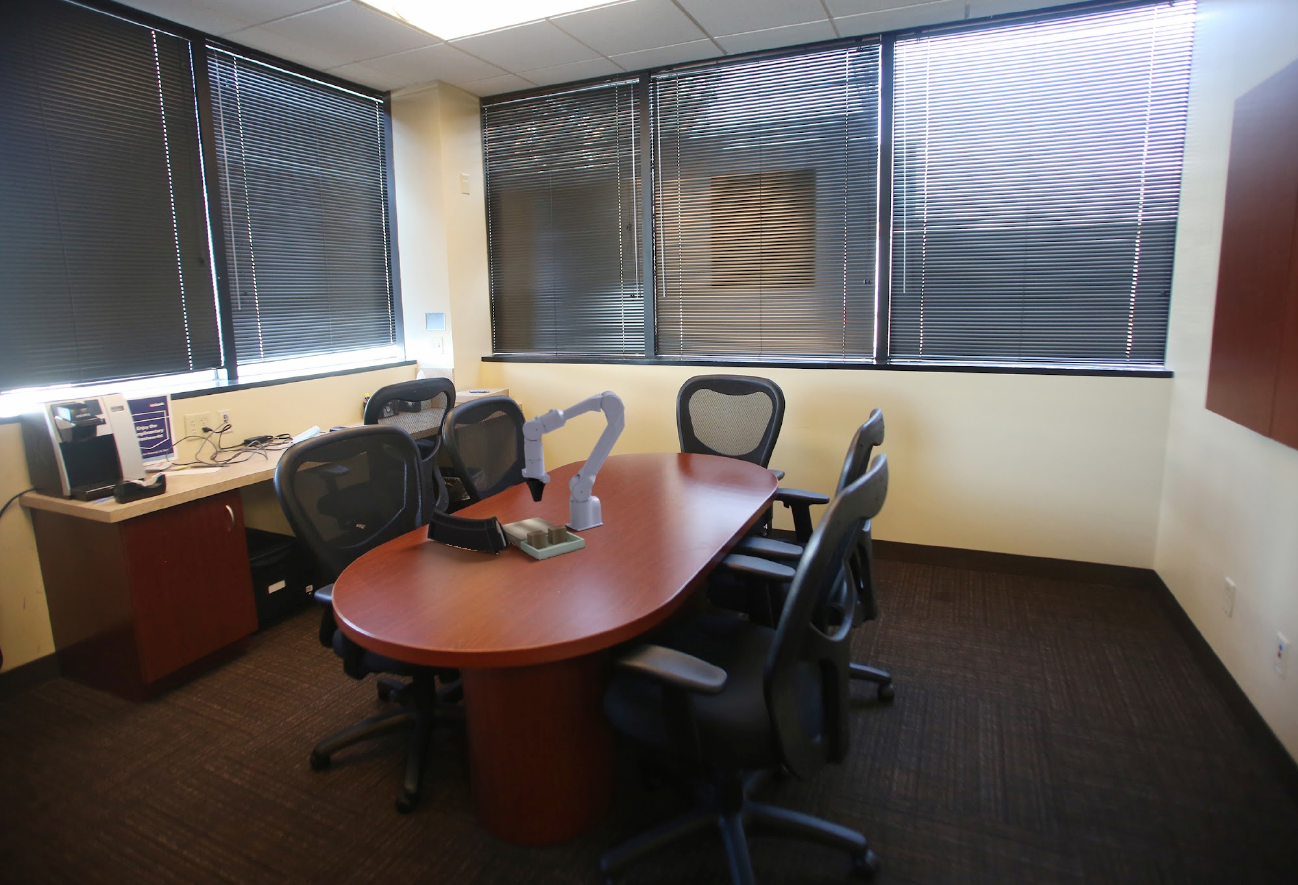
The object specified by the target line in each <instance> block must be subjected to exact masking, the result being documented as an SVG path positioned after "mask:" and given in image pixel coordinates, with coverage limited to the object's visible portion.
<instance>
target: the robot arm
mask: <svg viewBox="0 0 1298 885" xmlns="http://www.w3.org/2000/svg"><path fill="white" fill-rule="evenodd" d="M602 411H603V413H604V415H605V418H606V422H607V425H606V427H605V428H604V429H603V432H602V434H601V435H600V437H599V438H598V440H597V442H596V443H595V446H594V447H593V449H592V451H591V452H590V454H589V456H588V458H587V460H586V461H585V463H584V465H583V466H582V468H580V469H579V470H578V472H577V473H576V474H575V475H574V476H572V477H571V479H569V482H568V488H569V490H570V496H569V498H568V500H569V502H568V503H569V519H570V522H567V523H565V525H564V526H565V527H568V528H571V529H573V530H574V531H576V532H581V531H584V530H589V529H592V528H596V527H599V526H603V525H604V523H603V522H602V505H601V502H600V499H599V498H598V497H597V496H596V495H592V489H593V486H594V484H595V481H596V477H597V475H598V473H599V472H600V470H601V468H602V466H603V465H604V463H605V461H606V460H607V458H608V456H609V454H610V453H611V452H612V450H613V448H614V447H615V445H616V442H617V440H618V439H619V437H620V435H621V434H622V432H623V431H624V428H625V406H624V403H623V400H622V399H621V397H619V395H617V394H616V392H614V391H611V390H606V391H603V392H602V393H597V394H594V395H592V396H590V397H587V398H586V399H583V400H582V401H578V402H577V403H575V404H573V405H572V406H569V407H567V408H565V409H558V408H550V409H548V412H546V413H543V414H542V415H539V416H538V415H536V416H534V419H533V418H532V419H528V420H526V421H524V423H523V425H522V428H521V429H522V432H523V433H522V434H523V436H524V438H523V440H524V445H523V446H524V447H523V450H524V459H525V461H524V462H525V468H522V469H521V475H522V477H523V478H526V479H524V482H525V483H526V485H527V487H528V488H529V491H530V494H531V498H532V500H533V502H534V503H539V502H542V499H543V494H544V489H545V486H546V485H547V484H548V483H551V476H550V475H548V473H547V472H546V470H545V469H546V468H545V455H544V443H543V438H542V436H543V435H547V434H549V433H551V432H553V431H556V430H557V429H560V428H562V427H564V426H565V424H566V423H567V421H569V420H571V419H573V418H576V417H578V416H580V415H583V414H586V413H587V412H598V413H602Z"/></svg>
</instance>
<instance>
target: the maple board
mask: <svg viewBox="0 0 1298 885" xmlns="http://www.w3.org/2000/svg"><path fill="white" fill-rule="evenodd" d="M501 525H502V527H503V529H504V530H505V531H506V533H507V537H508V540H509V542H511V543H513V544H515V545H516V546H518V547H519V548H518V547H517V548H518V549H520V548H521V546H520V542H522V541H526V540H527V533H531V532H535V531H539V530H541V531H543V532H546V535H548V528H550V527H554V526H556V524H553V523H551V522H549V521H546V520H545V519H542V518H540V517H538V516H536V517H531V518H528V519H523V520H519V521H515V522H511V523H506V524H501ZM511 543H510V544H511ZM513 544H512V545H513ZM515 545H514V546H515ZM516 546H515V547H516Z"/></svg>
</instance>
